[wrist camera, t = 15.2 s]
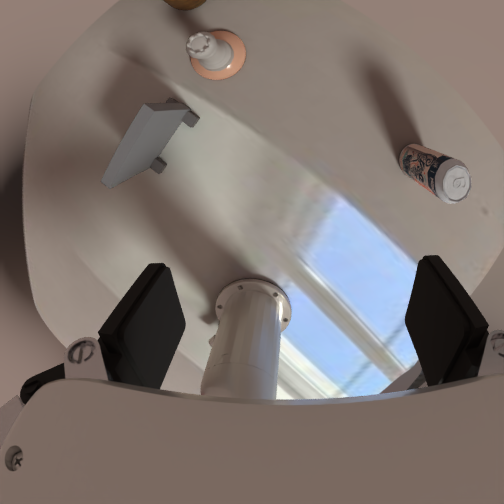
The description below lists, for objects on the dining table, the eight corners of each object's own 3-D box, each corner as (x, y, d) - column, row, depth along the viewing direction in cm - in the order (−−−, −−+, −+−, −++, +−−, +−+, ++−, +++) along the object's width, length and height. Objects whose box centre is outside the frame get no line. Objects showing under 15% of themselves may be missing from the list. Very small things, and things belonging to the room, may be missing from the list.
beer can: (395, 145, 32) (437, 163, 21) (425, 141, 31) (473, 158, 20) (400, 179, 34) (440, 210, 23) (429, 174, 33) (474, 203, 22)
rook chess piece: (203, 39, 28) (181, 23, 21) (238, 42, 27) (224, 25, 21) (196, 70, 30) (173, 61, 23) (230, 74, 30) (215, 64, 23)
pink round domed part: (222, 90, 31) (221, 89, 31) (181, 62, 30) (180, 61, 29) (257, 50, 28) (257, 49, 28) (215, 23, 27) (214, 22, 26)
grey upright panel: (160, 173, 38) (121, 198, 28) (135, 154, 37) (90, 172, 27) (201, 116, 33) (167, 121, 24) (172, 96, 32) (131, 95, 23)
